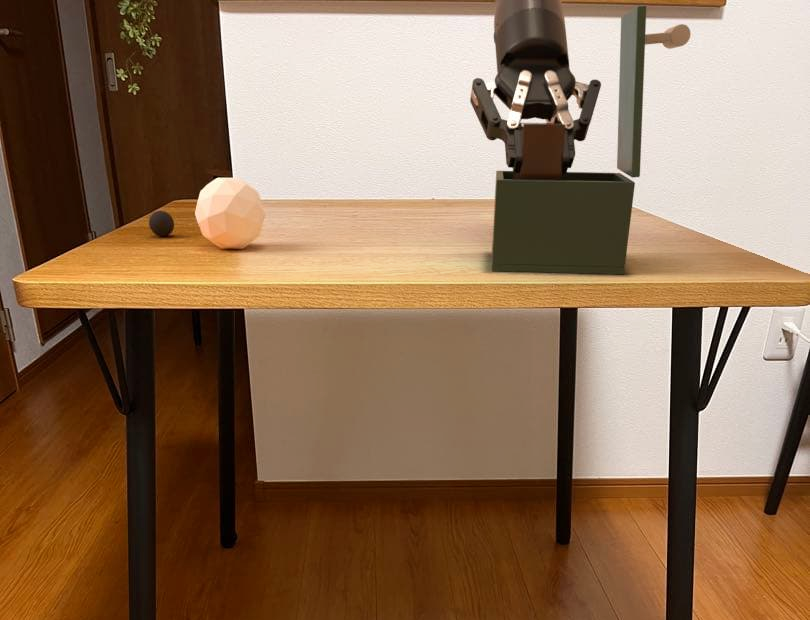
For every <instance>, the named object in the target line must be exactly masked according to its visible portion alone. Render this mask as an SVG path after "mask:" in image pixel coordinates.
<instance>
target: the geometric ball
mask: <svg viewBox="0 0 810 620" xmlns="http://www.w3.org/2000/svg"><path fill="white" fill-rule="evenodd" d="M194 215H195V219H196V222H197V224H198V228H199V230H200V232H201V234H202V236H203V237H204V238H206V239H207V240H208V241H210V242H211V243H212V244H213V245H215V246H216V247H218V248H219V249H221V250H243V249H245V248H246V247H247V246H248V245H250V244H251V243H253V242H254V241H255V240H257V238H259V237H260V236H261V231H262V228H263V225H264V222H265V218H266V211H265V208H264V204H263V202H262V199H261V197H260V193H259V191H258V190H256V189H255V188H254V187H252V185H250V184H248V183H247V182H246V181H244V180H243V179H242V178H240V177H217V178H215V179H213V180H211V181H210V182H209V183H207V184H206V185H205V186H204V187H203V188H202V189H200V191H199V195H198V198H197V203H196V206H195V212H194Z"/></svg>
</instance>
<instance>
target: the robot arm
mask: <svg viewBox="0 0 810 620" xmlns="http://www.w3.org/2000/svg"><path fill="white" fill-rule="evenodd" d="M566 28H567V27H566V21H565V11H564V7H563V3H562V0H494V17H493V31H494V32H493V42H494V46H495V57H496V60H495V61H496V72H497V73H496V76H495V77H494V80H491V81H488V82H485V80H484V79H482V78H481V77H476V78H474V79H473V80H472V84H471V92H470V97H469V98H470V99H469V102H470V104H471V106H472V109H473V111H474V113H475V115H476V117H477V119H478V121H479V124H480V126H481V128H482V130H483V133H484V134H485V137H486V138H487V140H489V141H496V140H500V141H502V142H503V143H504V151H505V164H506V165H507V168H512V171H513V173H520V169H521V167H522V163H523V152H522V146H521V134H520V130H518V127H519V123H522V120H531V119H539V120H545V123H560V124H565V138H564V150H563V156H562V173H567V172H568V170H569V169H572V166H573V164H574V163H573V162H574V161H575V157H576V146H575V140H576V141H577V142H583V141H585V140H586V138H587V136H588V131H589V127H590V125H591V121H592V120H593V115H594V111H595V108H596V104H597V101H598V98H599V94H600V91H601V87H602V82H601V81H600V80H599V79H591V80H590V81H589V83H588V84H587V83H584V82H580V81H577V80H576V77H575V75H574V74H573V73H572V71H571V69H570V57H569V48H568V39H567V29H566ZM572 96H573V97H575V98H576V104H577V105H578V106H577V107H578V109H580V110H581V111H580V115H579V118H577V119H574V120H573V117H572V115H571V112H570V111H569V103H568V101H569V99H570V98H571V97H572ZM495 97H497V98H498V99H499V100H500V101H501V102H502V103H503V104H504V105H505V106H506V107H507V108H508V109H509V114H508V117H507V120H506V119H503V118H502V117H501V115H500V112H499V109H498V108H497V106H496V103H495V102H494V98H495Z"/></svg>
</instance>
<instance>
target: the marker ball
mask: <svg viewBox="0 0 810 620" xmlns="http://www.w3.org/2000/svg"><path fill="white" fill-rule="evenodd" d="M148 227H149V229H150V230H151V232H152V233H153V234H154V235H155V236H157V237H168V236H170V234H172V233H173V231H174V229H175V221H174V218H173V216H172V215H171V214H170V213H169V212H167V211H166V210H165V211H164V210H156V211H154V212H153V213H151V215H150V217H149V219H148Z"/></svg>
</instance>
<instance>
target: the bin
mask: <svg viewBox="0 0 810 620" xmlns="http://www.w3.org/2000/svg"><path fill="white" fill-rule="evenodd" d="M635 187H636V182H635V181H633V180H632V179H630V178H628V177H627V176H626V175H624V174H622V173H621V172H591V171H589V172H588V171H567V173H562V174H561V180H514V173H513V170H496V171H495V188H494V189H495V190H494V207H493V224H492V225H493V226H492V243H491V272H516V273H517V272H518V273H519V272H522V273H523V272H524V273H558V274H593V275H594V274H595V275H598V274H599V275H625V267H626V261H627V252H628V245H629V244H628V243H629V236H630V227H631V219H632V213H633V212H632V211H633V203H634V195H635Z"/></svg>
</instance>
